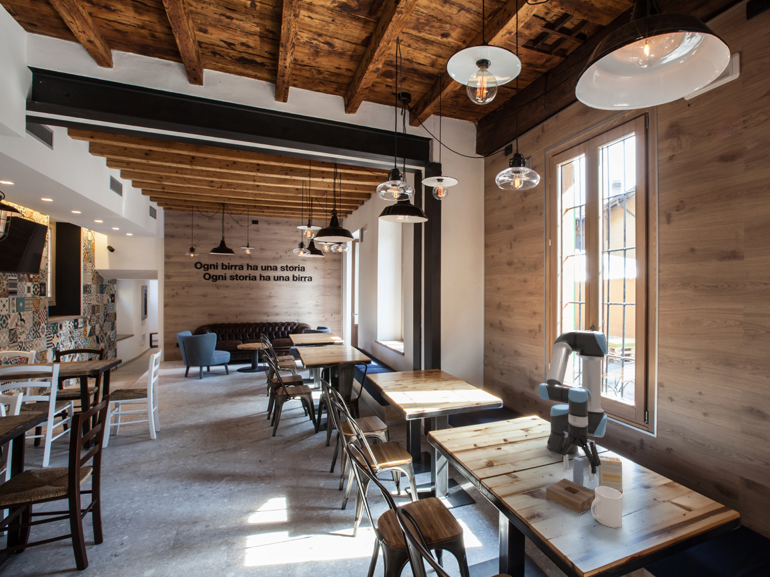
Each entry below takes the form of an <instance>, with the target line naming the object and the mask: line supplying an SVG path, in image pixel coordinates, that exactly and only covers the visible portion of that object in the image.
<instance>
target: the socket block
mask: <svg viewBox="0 0 770 577" xmlns="http://www.w3.org/2000/svg"><path fill="white" fill-rule="evenodd" d="M545 496H546V497H545V499H546V498H547V499H549V501H552V502H554V503H557V504H558V505H561V506H563V507H565V508H566V509H569V510H570V511H573V512H575V513H576V514H577V513H578V514H579V515H582V514H583V513H585V512H586V511H588V510H589V509H591V505H592V502H593V500H594V499H595V490H593V489H591V488H588V487H586V486H582V485H579V484H577V483H575V482H573V480H570V479H567V478H565V477H564V478H562V479H560V480H557V481H556V482H554V483H552V484H551V485H549V486H547V487H546V488H545Z"/></svg>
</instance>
